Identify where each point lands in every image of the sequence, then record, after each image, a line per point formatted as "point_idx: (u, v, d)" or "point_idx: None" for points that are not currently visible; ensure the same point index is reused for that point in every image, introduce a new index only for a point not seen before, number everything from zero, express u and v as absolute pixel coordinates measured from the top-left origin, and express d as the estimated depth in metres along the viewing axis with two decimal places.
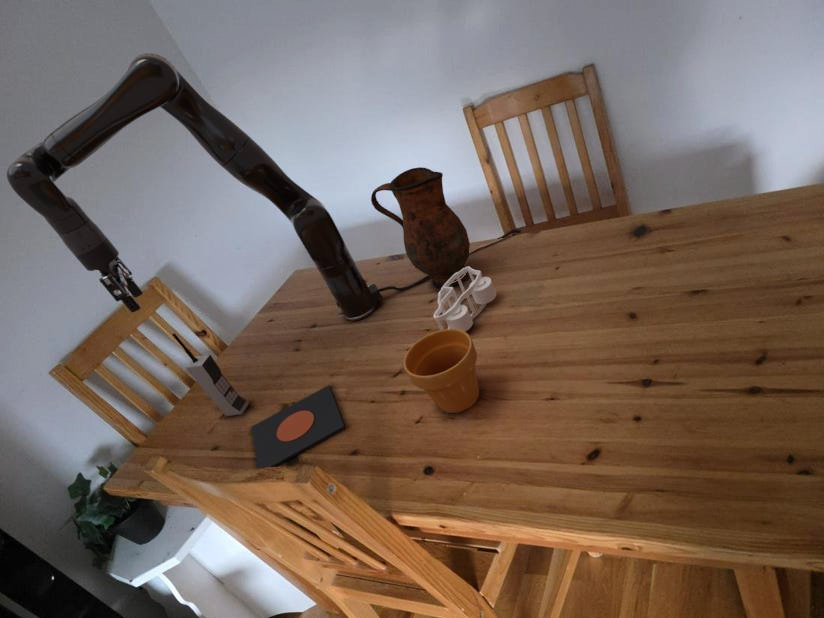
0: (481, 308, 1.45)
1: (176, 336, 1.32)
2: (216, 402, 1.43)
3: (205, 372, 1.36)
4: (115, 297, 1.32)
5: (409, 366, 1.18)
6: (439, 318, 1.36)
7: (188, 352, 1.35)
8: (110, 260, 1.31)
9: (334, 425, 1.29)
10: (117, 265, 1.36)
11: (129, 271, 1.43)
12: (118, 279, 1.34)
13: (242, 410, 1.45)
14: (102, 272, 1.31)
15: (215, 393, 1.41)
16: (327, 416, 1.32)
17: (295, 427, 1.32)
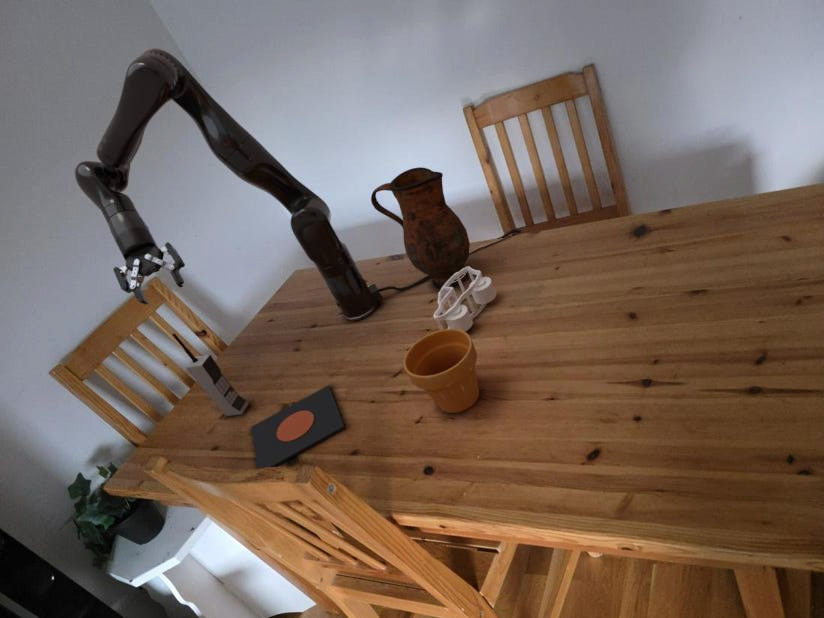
0: (481, 308, 1.45)
1: (176, 336, 1.32)
2: (216, 402, 1.43)
3: (205, 372, 1.36)
4: None
5: (409, 366, 1.18)
6: (439, 318, 1.36)
7: (188, 352, 1.35)
8: (123, 253, 1.36)
9: (334, 425, 1.29)
10: None
11: (177, 260, 1.38)
12: None
13: (242, 410, 1.45)
14: None
15: (215, 393, 1.41)
16: (327, 416, 1.32)
17: (295, 427, 1.32)
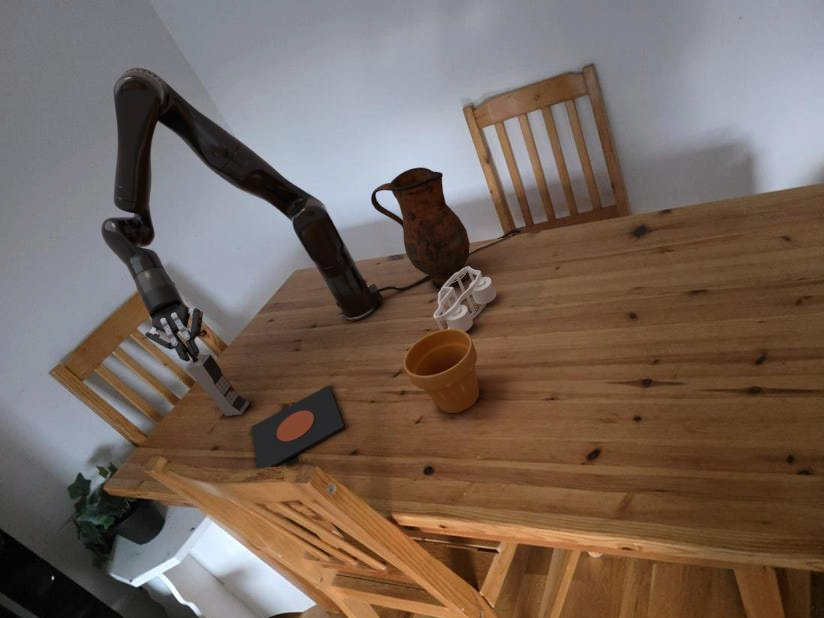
0: (481, 308, 1.45)
1: (177, 336, 1.32)
2: (216, 402, 1.43)
3: (205, 372, 1.36)
4: None
5: (409, 366, 1.18)
6: (439, 318, 1.36)
7: (189, 352, 1.35)
8: (149, 312, 1.33)
9: (334, 425, 1.29)
10: None
11: (193, 329, 1.34)
12: (161, 330, 1.34)
13: (242, 410, 1.45)
14: None
15: (215, 393, 1.41)
16: (327, 416, 1.32)
17: (295, 427, 1.32)
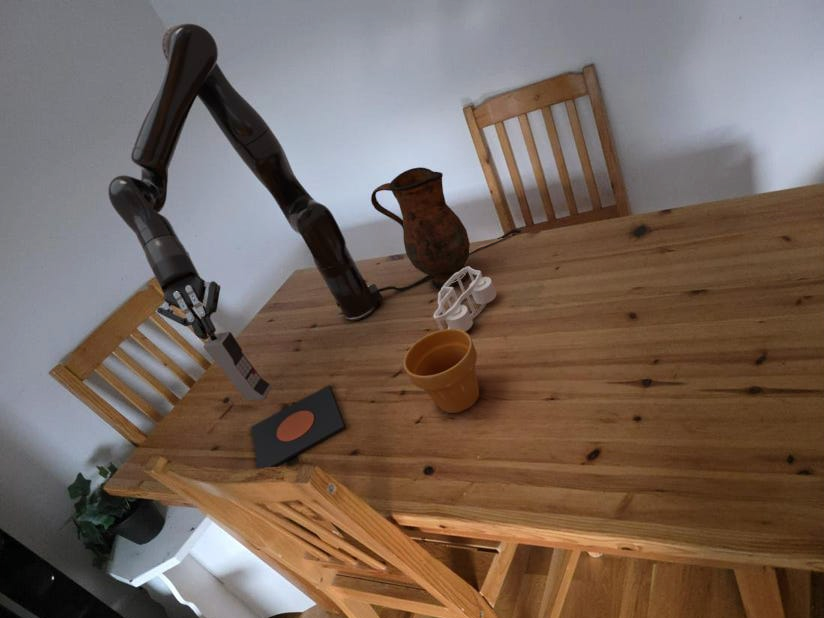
0: (481, 308, 1.45)
1: (193, 310, 1.18)
2: (236, 385, 1.29)
3: (225, 351, 1.22)
4: None
5: (409, 366, 1.18)
6: (439, 318, 1.36)
7: None
8: (161, 284, 1.18)
9: (334, 425, 1.29)
10: None
11: (209, 305, 1.19)
12: (174, 305, 1.19)
13: (265, 394, 1.31)
14: None
15: (236, 375, 1.27)
16: (327, 416, 1.32)
17: (295, 427, 1.32)
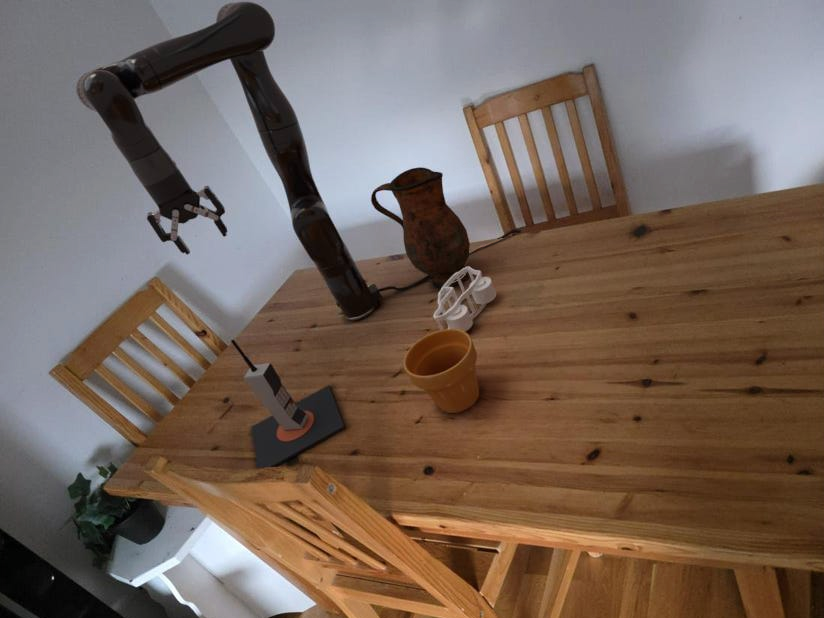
0: (481, 308, 1.45)
1: (235, 343, 1.19)
2: (274, 415, 1.29)
3: (266, 382, 1.22)
4: None
5: (409, 366, 1.18)
6: (439, 318, 1.36)
7: (247, 360, 1.21)
8: (158, 203, 1.20)
9: (334, 425, 1.29)
10: (184, 205, 1.22)
11: (220, 210, 1.26)
12: (172, 220, 1.23)
13: (302, 424, 1.31)
14: None
15: (275, 405, 1.27)
16: (327, 416, 1.32)
17: None
